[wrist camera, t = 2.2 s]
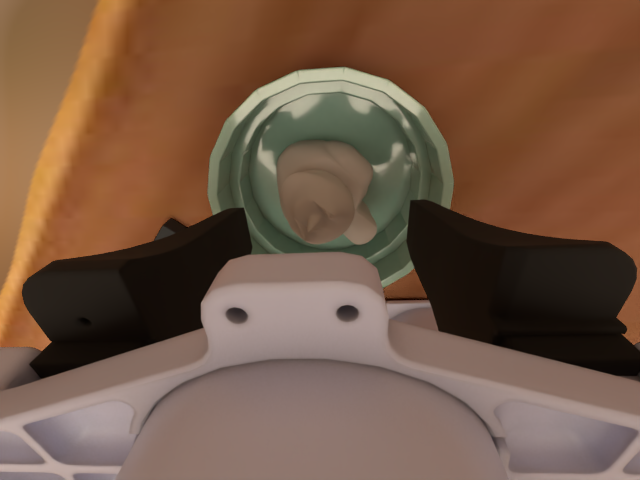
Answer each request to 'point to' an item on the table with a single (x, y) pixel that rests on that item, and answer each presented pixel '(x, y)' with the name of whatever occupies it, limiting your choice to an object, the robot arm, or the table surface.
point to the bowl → (330, 124)
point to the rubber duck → (325, 191)
